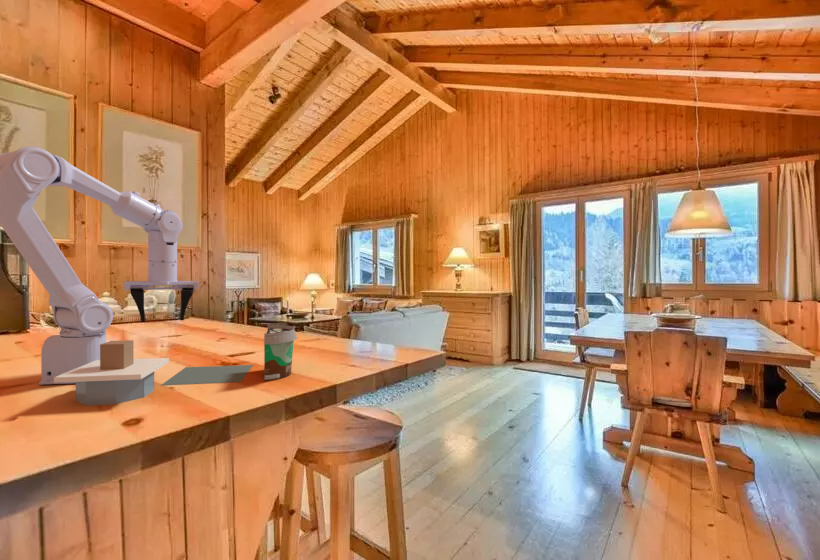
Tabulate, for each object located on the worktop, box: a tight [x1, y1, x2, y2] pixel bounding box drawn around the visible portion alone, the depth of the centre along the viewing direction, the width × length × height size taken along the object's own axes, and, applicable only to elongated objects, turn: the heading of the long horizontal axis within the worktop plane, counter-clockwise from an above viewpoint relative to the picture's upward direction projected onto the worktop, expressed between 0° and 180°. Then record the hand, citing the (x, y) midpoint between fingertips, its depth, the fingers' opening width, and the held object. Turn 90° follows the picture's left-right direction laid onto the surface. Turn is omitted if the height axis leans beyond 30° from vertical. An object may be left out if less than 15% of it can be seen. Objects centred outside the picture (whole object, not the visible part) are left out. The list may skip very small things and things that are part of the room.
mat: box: [161, 364, 254, 386], centre depth 83 cm, size 14×14×1 cm
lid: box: [54, 339, 170, 383], centre depth 69 cm, size 12×12×5 cm
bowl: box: [75, 371, 155, 407], centre depth 69 cm, size 10×10×4 cm
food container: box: [263, 324, 298, 382], centre depth 84 cm, size 12×6×10 cm, turn 16°
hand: (162, 320), depth 94 cm, fingers open, 7 cm apart
